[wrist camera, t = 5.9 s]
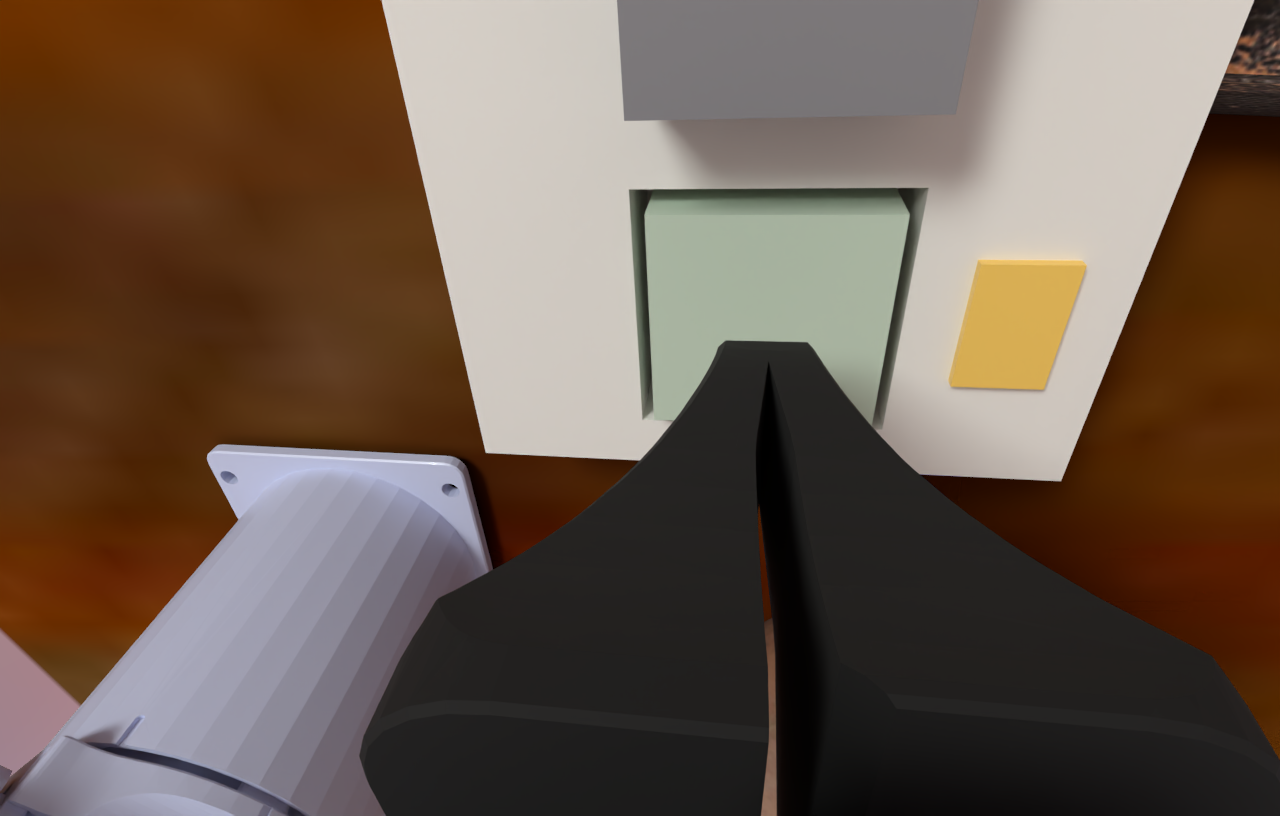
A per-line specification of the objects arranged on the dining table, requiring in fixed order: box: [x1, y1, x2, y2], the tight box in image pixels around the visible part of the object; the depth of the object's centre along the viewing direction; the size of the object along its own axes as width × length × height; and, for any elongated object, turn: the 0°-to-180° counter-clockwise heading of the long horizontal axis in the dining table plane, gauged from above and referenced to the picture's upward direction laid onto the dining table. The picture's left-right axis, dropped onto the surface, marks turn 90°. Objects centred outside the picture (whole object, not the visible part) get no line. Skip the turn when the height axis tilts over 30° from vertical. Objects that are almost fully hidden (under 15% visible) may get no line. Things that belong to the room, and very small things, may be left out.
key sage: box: [644, 188, 910, 426], centre depth 13 cm, size 4×4×2 cm
